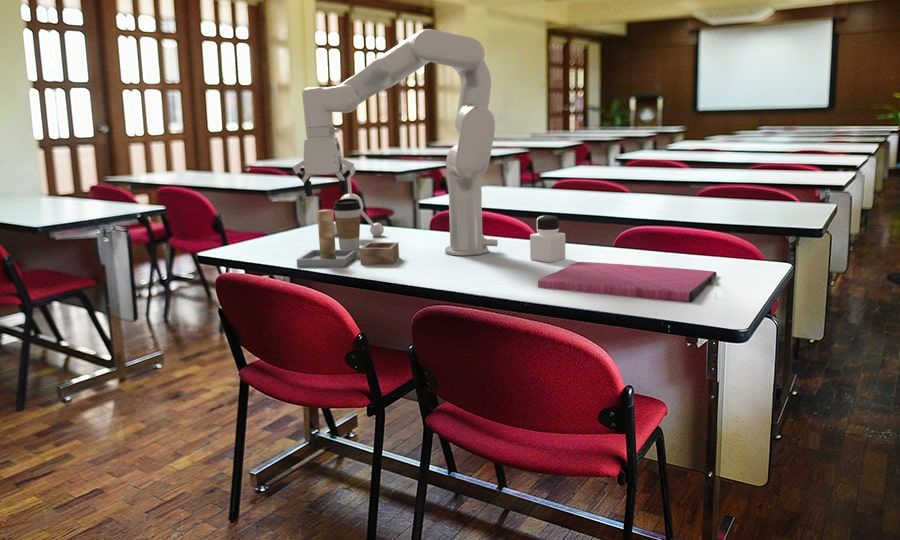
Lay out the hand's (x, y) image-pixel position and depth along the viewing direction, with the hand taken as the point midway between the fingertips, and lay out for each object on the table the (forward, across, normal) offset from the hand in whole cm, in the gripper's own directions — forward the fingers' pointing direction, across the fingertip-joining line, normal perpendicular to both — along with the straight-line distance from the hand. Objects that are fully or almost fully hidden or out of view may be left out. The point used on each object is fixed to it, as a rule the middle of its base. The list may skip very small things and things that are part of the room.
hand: (326, 195), depth 216 cm
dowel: (+18, +1, 0) cm, 18 cm away
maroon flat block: (+22, -82, +23) cm, 88 cm away
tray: (+19, +1, 0) cm, 19 cm away
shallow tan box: (+19, -14, -1) cm, 24 cm away
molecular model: (+20, +4, -36) cm, 41 cm away
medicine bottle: (+21, -61, -4) cm, 64 cm away
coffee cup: (+19, 0, -19) cm, 27 cm away
